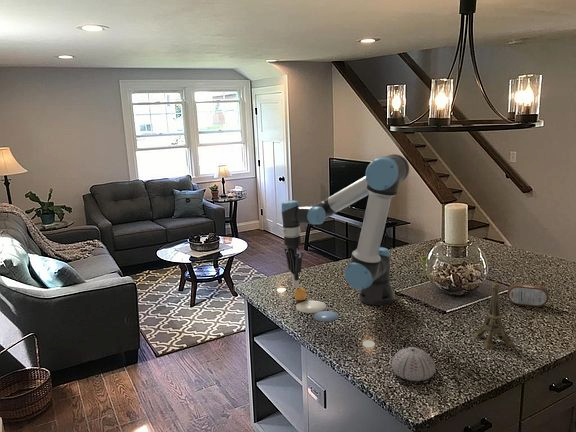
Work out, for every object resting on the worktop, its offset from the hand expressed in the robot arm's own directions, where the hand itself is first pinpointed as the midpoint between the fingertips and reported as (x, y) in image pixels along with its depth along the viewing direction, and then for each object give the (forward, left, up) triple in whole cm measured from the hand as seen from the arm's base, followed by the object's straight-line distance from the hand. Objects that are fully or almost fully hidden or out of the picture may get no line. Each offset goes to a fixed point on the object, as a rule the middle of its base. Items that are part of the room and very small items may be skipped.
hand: (295, 286), depth 213 cm
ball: (-3, +3, -2) cm, 5 cm away
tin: (-95, -14, -5) cm, 96 cm away
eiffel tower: (-81, +22, -5) cm, 84 cm away
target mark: (-10, +9, -5) cm, 14 cm away
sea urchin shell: (-57, +51, -5) cm, 77 cm away
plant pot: (-55, -41, -5) cm, 69 cm away
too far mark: (-19, +17, -5) cm, 26 cm away
